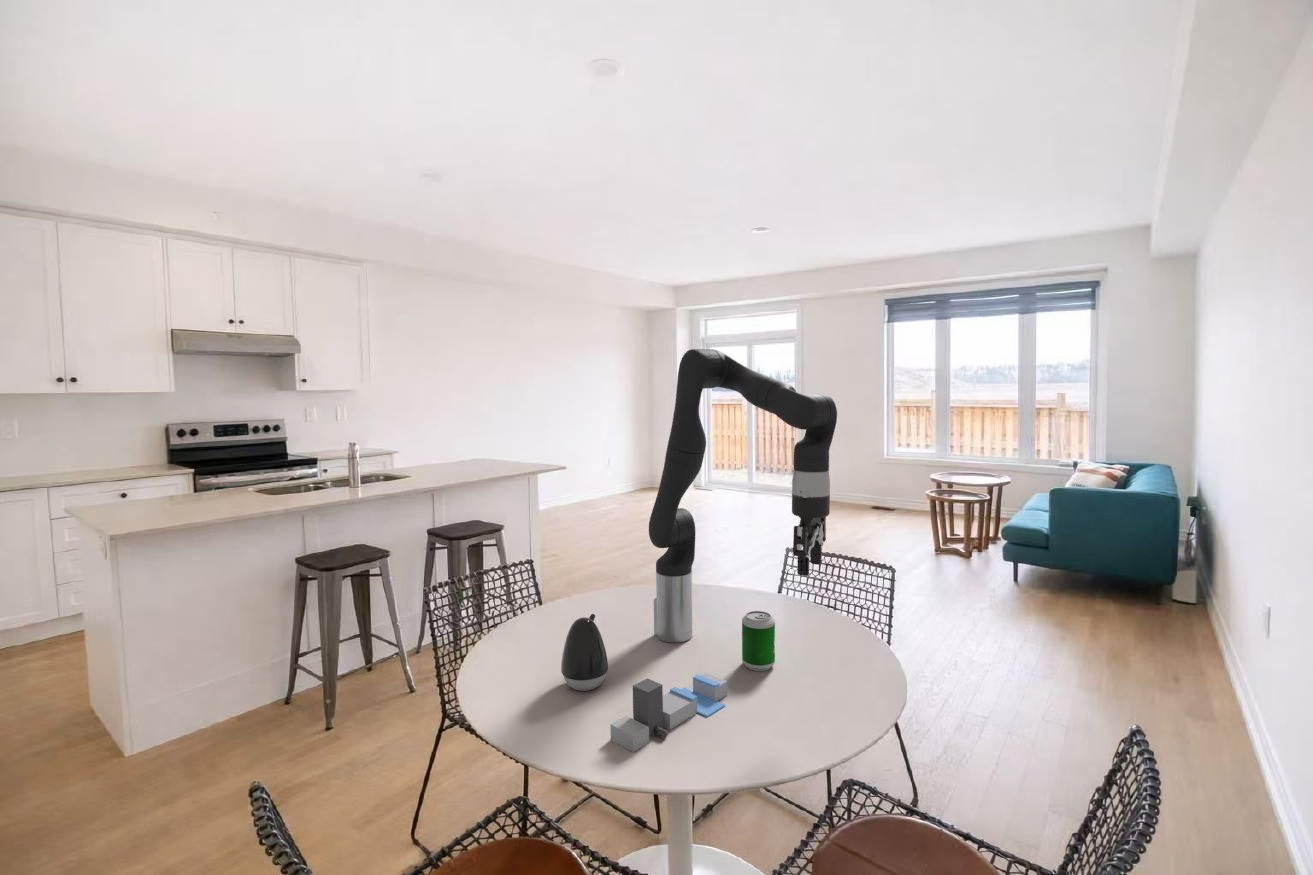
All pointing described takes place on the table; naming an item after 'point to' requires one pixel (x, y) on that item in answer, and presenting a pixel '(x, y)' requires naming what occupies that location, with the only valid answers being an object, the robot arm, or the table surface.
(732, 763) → the table surface
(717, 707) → the blue-tipped block chain
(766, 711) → the table surface
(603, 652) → the black egg-shaped body
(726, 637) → the table surface
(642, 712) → the dark grey bar
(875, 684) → the table surface
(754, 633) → the soda can
